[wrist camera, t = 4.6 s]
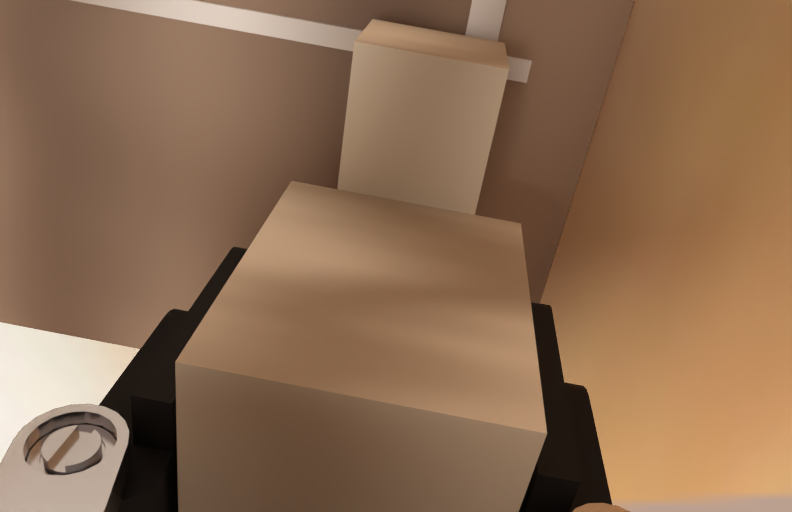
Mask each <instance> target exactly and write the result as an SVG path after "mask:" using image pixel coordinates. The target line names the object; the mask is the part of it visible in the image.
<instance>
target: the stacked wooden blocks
mask: <svg viewBox="0 0 792 512" xmlns="http://www.w3.org/2000/svg"><path fill="white" fill-rule="evenodd" d="M508 72H509V66H508V60H507V54H506V48H505V43H504V42H498V41H492V40H487V39H481V38H476V37H470V36H465V35H459V34H454V33H448V32H442V31H437V30H431V29H426V28H420V27H415V26H409V25H404V24H398V23H392V22H387V21H381V20H376V19H372V20H371V22H370V23H369V24H368V25H367V27H366V28H365V29H364V30H363V31H362V33H361V34H360V35H359V36H358V38H357V39H356V40H355V41H354V49H353V58H352V66H351V75H350V83H349V92H348V101H347V109H346V118H345V126H344V135H343V143H342V152H341V161H340V169H339V178H338V186H337V189H333V188H327V187H322V186H317V185H311V184H306V183H301V182H295V181H291V182H290V184H289V186H288V187H287V189H286V190H285V192H284V193H283V195H282V196H281V198H280V200H279V201H278V203H277V204H276V206H275V207H274V209H273V210H272V212H271V214H270V215H269V217H268V218H267V220H266V221H265V223H264V224H263V226H262V228H261V229H260V231H259V232H258V234H257V235H256V237H255V239H254V240H253V242H252V243H251V245H250V246H249V248H248V249H247V251H246V253H245V254H244V256H243V257H242V259H241V260H240V262H239V263H238V265H237V267H236V268H235V270H234V271H233V273H232V274H231V276H230V277H229V279H228V281H227V282H226V284H225V285H224V287H223V288H222V290H221V291H220V293H219V295H218V296H217V298H216V299H215V301H214V302H213V304H212V305H211V307H210V309H209V310H208V312H207V313H206V315H205V316H204V318H203V319H202V321H201V323H200V324H199V326H198V327H197V329H196V330H195V332H194V333H193V335H192V337H191V338H190V340H189V341H188V343H187V344H186V346H185V347H184V349H183V351H182V352H181V354H180V355H179V357H178V358H177V360H176V361H175V378H176V426H177V473H178V512H519V509H520V507H521V504H522V501H523V498H524V496H525V493H526V490H527V488H528V485H529V482H530V479H531V477H532V474H533V471H534V468H535V466H536V463H537V460H538V457H539V455H540V452H541V449H542V446H543V444H544V441H545V438H546V436H547V428H546V420H545V412H544V404H543V396H542V388H541V380H540V372H539V364H538V356H537V348H536V340H535V332H534V324H533V316H532V308H531V300H530V292H529V284H528V276H527V268H526V260H525V252H524V244H523V236H522V228H521V223H516V222H510V221H505V220H500V219H494V218H489V217H484V216H478V215H475V212H476V207H477V203H478V199H479V195H480V191H481V186H482V182H483V178H484V174H485V169H486V165H487V161H488V157H489V152H490V148H491V144H492V140H493V135H494V131H495V127H496V123H497V118H498V114H499V110H500V106H501V102H502V97H503V93H504V89H505V85H506V80H507V76H508Z"/></svg>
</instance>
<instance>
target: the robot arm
mask: <svg viewBox="0 0 792 512" xmlns="http://www.w3.org/2000/svg"><path fill="white" fill-rule="evenodd" d="M246 251H247V249H245V248H240V247H233V248H232V249H231V250H230V251H229V253H228V254H227V256H226V257H225V258H224V260H223V261H222V263H221V264H220V266H219V267H218V269H217V270H216V272H215V273H214V274H213V276H212V277H211V279H210V280H209V282H208V283H207V285H206V286H205V287H204V289H203V290H202V292H201V293H200V295H199V296H198V298H197V299H196V301H195V302H194V303H193V305H192V306H191V308H190V309H189V311H184V310H179V309H172V310H170V311H169V312H168V313H167V314H166V315H165V316H164V318H163V319H162V320H161V322H160V323H159V324H158V326H157V327H156V328H155V330H154V331H153V333H152V334H151V335H150V337H149V338H148V339H147V341H146V342H145V343H144V345H143V346H142V347H141V349H140V350H139V352H138V353H137V354H136V356H135V357H134V358H133V360H132V361H131V362H130V364H129V365H128V366H127V368H126V369H125V371H124V372H123V373H122V375H121V376H120V377H119V379H118V380H117V381H116V383H115V384H114V385H113V387H112V388H111V390H110V391H109V392H108V394H107V395H106V396H105V398H104V399H103V400H102V402H101V403H100V405H93V404H74V405H68V406H64V407H60V408H56V409H52V410H50V411H48V412H46V413H44V414H42V415H39V416H37V417H36V418H34V419H33V420H32V421H30V422H29V423H28V424H26V425H25V426H24V427H23V428H22V429H21V430H20V432H19V433H18V434H17V435H16V437H15V438H14V439H13V441H12V443H11V445H10V446H9V448H8V450H7V452H6V454H5V456H4V457H3V459H2V461H1V463H0V512H178V473H177V426H176V378H175V361H176V360H177V358H178V357H179V355H180V354H181V352H182V351H183V349H184V347H185V346H186V344H187V343H188V341H189V340H190V338H191V337H192V335H193V333H194V332H195V330H196V329H197V327H198V326H199V324H200V323H201V321H202V319H203V318H204V316H205V315H206V313H207V312H208V310H209V309H210V307H211V305H212V304H213V302H214V301H215V299H216V298H217V296H218V295H219V293H220V291H221V290H222V288H223V287H224V285H225V284H226V282H227V281H228V279H229V277H230V276H231V274H232V273H233V271H234V270H235V268H236V267H237V265H238V263H239V262H240V260H241V259H242V257H243V256H244V254H245V253H246ZM531 308H532V316H533V324H534V332H535V340H536V348H537V356H538V364H539V372H540V380H541V388H542V396H543V404H544V412H545V420H546V428H547V436H546V438H545V441H544V444H543V446H542V449H541V452H540V455H539V457H538V460H537V463H536V466H535V468H534V471H533V474H532V477H531V479H530V482H529V485H528V488H527V490H526V493H525V496H524V498H523V501H522V504H521V507H520V509H519V512H630V511H628V510H625V509H623V508H621V507H619V506H615V505H612V502H611V497H610V492H609V488H608V483H607V478H606V474H605V469H604V464H603V460H602V455H601V450H600V446H599V441H598V437H597V432H596V427H595V423H594V418H593V413H592V409H591V404H590V399H589V395H588V392H587V389H586V388H585V387H584V386H580V385H574V384H569V383H564V378H563V372H562V367H561V361H560V355H559V349H558V343H557V337H556V331H555V326H554V320H553V314H552V309H551V306H549V305H544V304H539V303H534V302H531Z"/></svg>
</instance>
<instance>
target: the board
mask: <svg viewBox="0 0 792 512" xmlns="http://www.w3.org/2000/svg"><path fill="white" fill-rule="evenodd" d="M633 4H634V1H633V0H0V322H3V323H8V324H13V325H19V326H24V327H29V328H34V329H39V330H45V331H50V332H55V333H60V334H65V335H71V336H76V337H81V338H86V339H91V340H97V341H102V342H107V343H112V344H117V345H123V346H128V347H133V348H138V349H141V347H142V346H143V345H144V343H145V342H146V341H147V339H148V338H149V337H150V335H151V334H152V333H153V331H154V330H155V328H156V327H157V326H158V324H159V323H160V322H161V320H162V319H163V318H164V316H165V315H166V314H167V313H168V312H169V311H170V310H172V309H179V310H184V311H189V309H190V308H191V306H192V305H193V303H194V302H195V301H196V299H197V298H198V296H199V295H200V293H201V292H202V290H203V289H204V287H205V286H206V285H207V283H208V282H209V280H210V279H211V277H212V276H213V274H214V273H215V272H216V270H217V269H218V267H219V266H220V264H221V263H222V261H223V260H224V258H225V257H226V256H227V254H228V253H229V251H230V250H231V249H232V248H233V247H240V248H245V249H248V248H249V246H250V245H251V243H252V242H253V240H254V239H255V237H256V235H257V234H258V232H259V231H260V229H261V228H262V226H263V224H264V223H265V221H266V220H267V218H268V217H269V215H270V214H271V212H272V210H273V209H274V207H275V206H276V204H277V203H278V201H279V200H280V198H281V196H282V195H283V193H284V192H285V190H286V189H287V187H288V186H289V184H290V182H291V181H295V182H301V183H306V184H311V185H317V186H322V187H327V188H333V189H337V186H338V178H339V169H340V161H341V152H342V143H343V135H344V126H345V118H346V109H347V101H348V92H349V83H350V75H351V66H352V58H353V49H354V41H355V40H356V39H357V38H358V36H359V35H360V34H361V33H362V31H363V30H364V29H365V28H366V27H367V25H368V24H369V23H370V22H371V20H372V19H376V20H381V21H387V22H392V23H398V24H404V25H409V26H415V27H420V28H426V29H431V30H437V31H442V32H448V33H454V34H459V35H465V36H470V37H476V38H481V39H487V40H492V41H498V42H504V43H505V48H506V54H507V60H508V66H509V72H508V76H507V80H506V85H505V89H504V93H503V97H502V102H501V106H500V110H499V114H498V118H497V123H496V127H495V131H494V135H493V140H492V144H491V148H490V152H489V157H488V161H487V165H486V169H485V174H484V178H483V182H482V186H481V191H480V195H479V199H478V203H477V207H476V212H475V215H478V216H484V217H489V218H494V219H500V220H505V221H510V222H516V223H521V228H522V236H523V244H524V252H525V260H526V268H527V276H528V284H529V292H530V300H531V302H534V303H540V300H541V297H542V294H543V291H544V287H545V284H546V281H547V278H548V275H549V272H550V268H551V265H552V262H553V259H554V256H555V252H556V249H557V246H558V243H559V240H560V237H561V233H562V230H563V227H564V224H565V221H566V218H567V214H568V211H569V208H570V205H571V202H572V198H573V195H574V192H575V189H576V186H577V183H578V179H579V176H580V173H581V170H582V167H583V163H584V160H585V157H586V154H587V151H588V148H589V144H590V141H591V138H592V135H593V132H594V128H595V125H596V122H597V119H598V116H599V113H600V109H601V106H602V103H603V100H604V97H605V94H606V90H607V87H608V84H609V81H610V78H611V74H612V71H613V68H614V65H615V62H616V59H617V55H618V52H619V49H620V46H621V43H622V39H623V36H624V33H625V30H626V27H627V24H628V20H629V17H630V14H631V11H632V8H633Z"/></svg>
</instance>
